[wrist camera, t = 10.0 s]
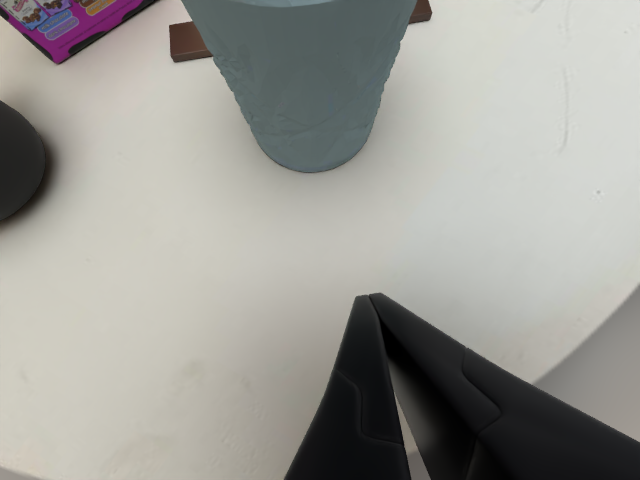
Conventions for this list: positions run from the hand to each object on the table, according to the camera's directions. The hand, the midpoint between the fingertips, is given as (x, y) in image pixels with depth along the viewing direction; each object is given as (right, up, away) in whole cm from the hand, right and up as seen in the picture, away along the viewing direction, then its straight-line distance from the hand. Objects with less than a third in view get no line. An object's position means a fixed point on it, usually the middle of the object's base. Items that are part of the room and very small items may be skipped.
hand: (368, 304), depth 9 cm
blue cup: (-2, +11, +12) cm, 16 cm away
